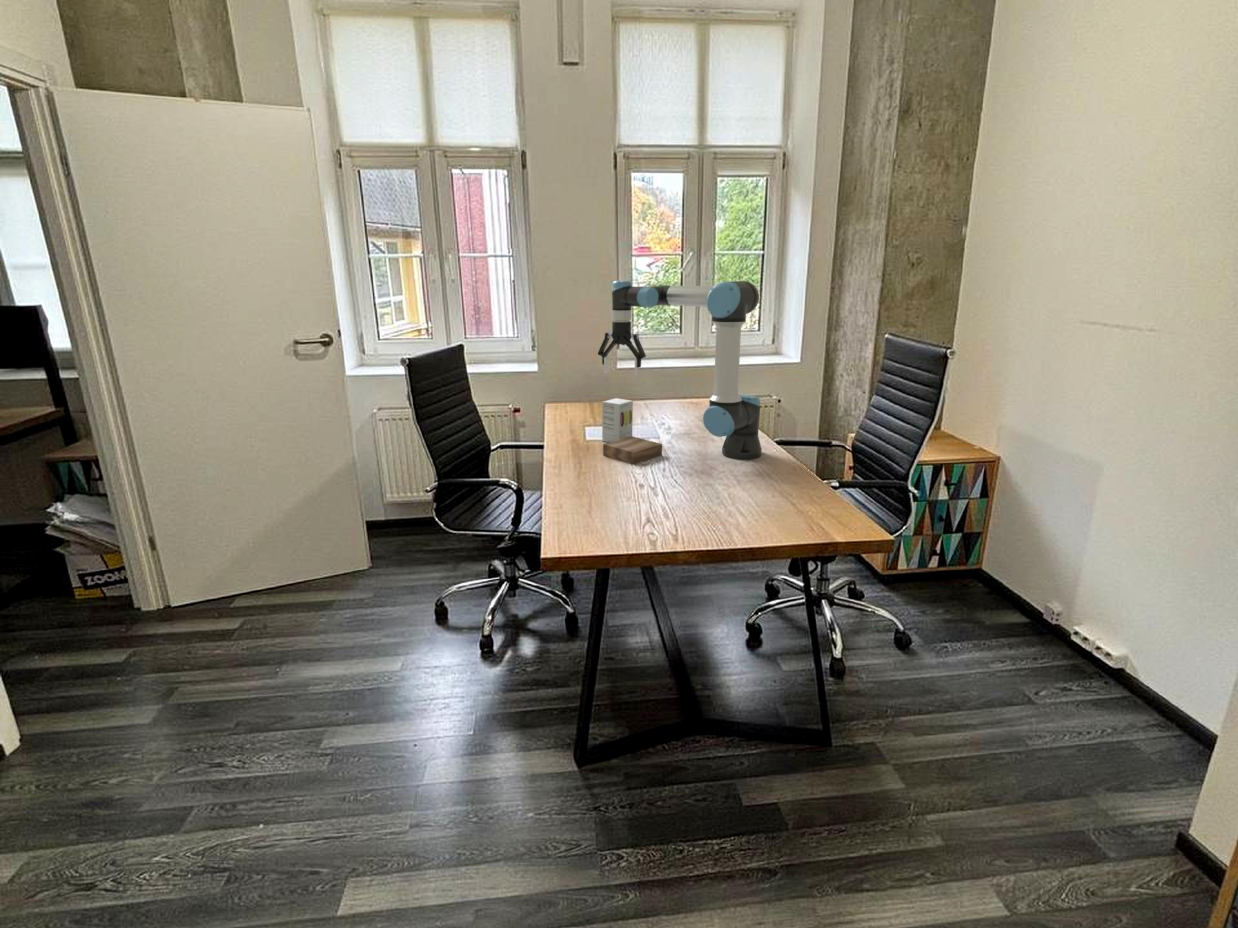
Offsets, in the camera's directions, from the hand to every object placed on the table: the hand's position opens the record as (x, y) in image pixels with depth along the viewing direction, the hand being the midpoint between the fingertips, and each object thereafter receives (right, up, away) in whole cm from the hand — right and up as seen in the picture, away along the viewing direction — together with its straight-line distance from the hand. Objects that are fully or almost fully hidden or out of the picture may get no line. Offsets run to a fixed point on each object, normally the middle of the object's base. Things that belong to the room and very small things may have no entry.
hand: (621, 374), depth 263 cm
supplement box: (-2, -27, +6) cm, 28 cm away
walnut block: (+4, -34, -14) cm, 37 cm away
